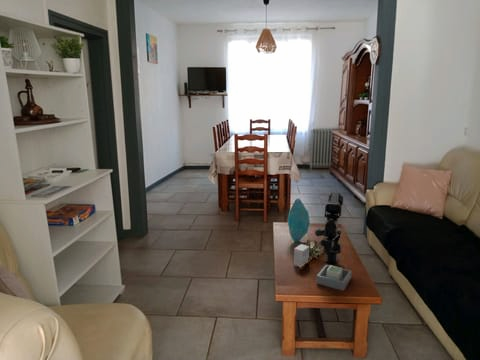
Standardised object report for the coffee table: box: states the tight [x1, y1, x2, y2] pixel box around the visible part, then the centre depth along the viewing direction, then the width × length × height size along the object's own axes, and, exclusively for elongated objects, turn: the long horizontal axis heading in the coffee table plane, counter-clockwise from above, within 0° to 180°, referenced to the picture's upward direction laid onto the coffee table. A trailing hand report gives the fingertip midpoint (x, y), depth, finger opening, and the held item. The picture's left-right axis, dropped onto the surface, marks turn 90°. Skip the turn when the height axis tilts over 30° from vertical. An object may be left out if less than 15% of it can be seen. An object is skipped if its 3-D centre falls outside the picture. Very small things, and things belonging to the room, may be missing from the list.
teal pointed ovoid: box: [287, 197, 311, 243], centre depth 233 cm, size 12×14×30 cm
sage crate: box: [326, 264, 343, 281], centre depth 187 cm, size 6×6×6 cm
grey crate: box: [316, 264, 352, 292], centre depth 188 cm, size 14×14×4 cm
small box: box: [293, 243, 310, 267], centre depth 206 cm, size 8×6×10 cm
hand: (330, 252), depth 194 cm, fingers open, 9 cm apart
